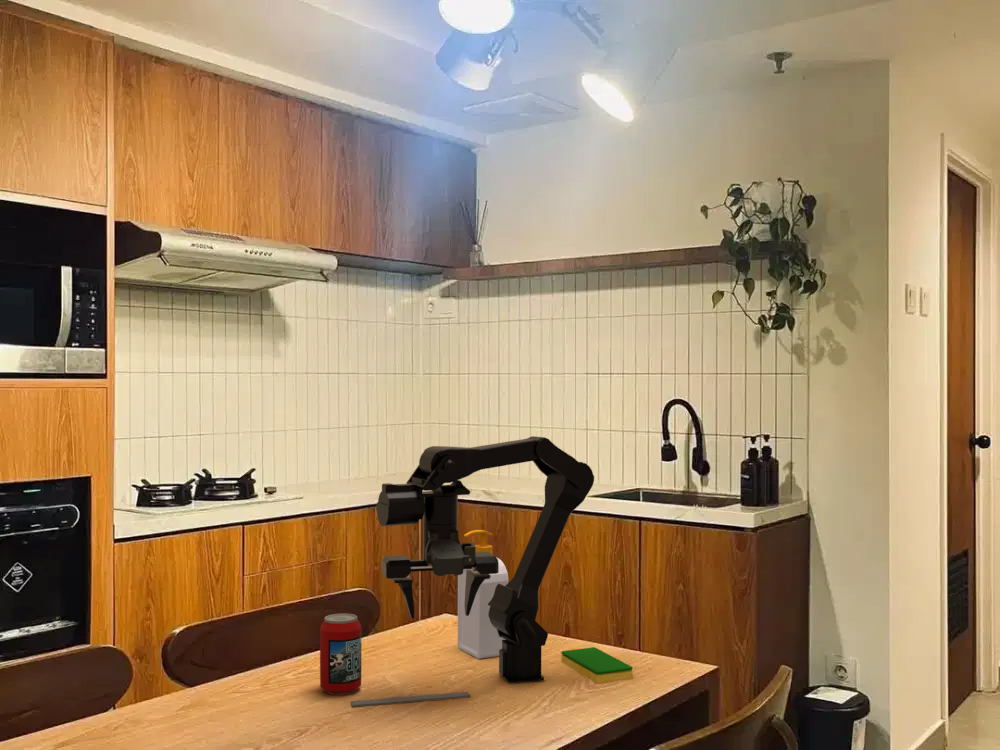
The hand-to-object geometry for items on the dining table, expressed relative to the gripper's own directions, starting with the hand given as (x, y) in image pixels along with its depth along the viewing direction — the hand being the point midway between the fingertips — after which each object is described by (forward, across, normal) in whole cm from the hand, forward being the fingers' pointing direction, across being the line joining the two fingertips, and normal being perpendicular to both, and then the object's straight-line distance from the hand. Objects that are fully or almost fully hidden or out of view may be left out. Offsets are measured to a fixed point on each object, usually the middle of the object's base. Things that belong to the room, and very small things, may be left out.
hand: (439, 616), depth 160 cm
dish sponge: (+13, +29, +4) cm, 32 cm away
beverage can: (+12, -16, +4) cm, 20 cm away
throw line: (+12, -5, -4) cm, 14 cm away
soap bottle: (+12, +12, +20) cm, 26 cm away
